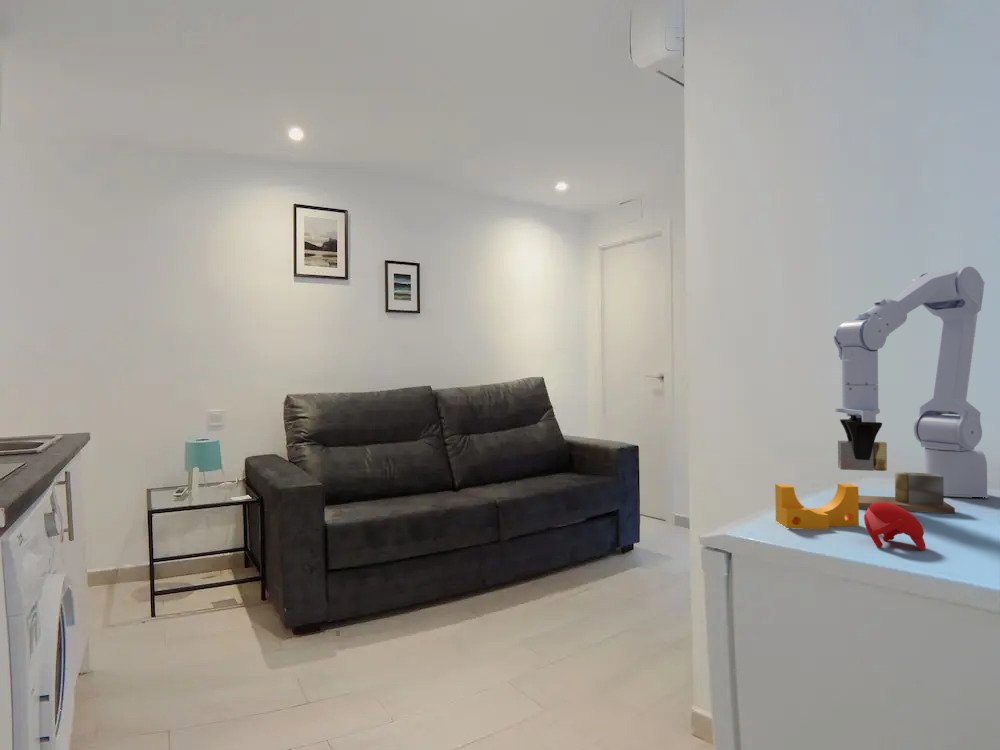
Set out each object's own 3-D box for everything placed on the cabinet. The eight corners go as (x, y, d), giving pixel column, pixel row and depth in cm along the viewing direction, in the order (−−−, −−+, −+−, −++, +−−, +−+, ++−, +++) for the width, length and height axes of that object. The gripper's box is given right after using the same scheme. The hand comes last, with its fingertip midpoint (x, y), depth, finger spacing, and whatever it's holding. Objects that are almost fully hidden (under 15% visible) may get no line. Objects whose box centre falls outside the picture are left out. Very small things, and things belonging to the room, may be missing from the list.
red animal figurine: (853, 523, 86) (894, 507, 82) (858, 502, 91) (897, 486, 87) (891, 569, 85) (934, 555, 81) (894, 545, 90) (936, 531, 86)
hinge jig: (940, 504, 110) (940, 472, 110) (954, 513, 103) (954, 478, 103) (835, 499, 116) (834, 468, 116) (842, 507, 109) (842, 474, 109)
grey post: (884, 468, 112) (884, 441, 112) (888, 471, 109) (888, 443, 109) (838, 466, 114) (837, 440, 114) (841, 469, 111) (840, 442, 111)
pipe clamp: (786, 530, 96) (786, 489, 96) (775, 523, 100) (775, 484, 100) (864, 529, 95) (864, 488, 95) (850, 522, 99) (849, 483, 99)
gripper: (828, 383, 120) (829, 452, 120) (842, 386, 106) (843, 463, 106) (869, 383, 117) (870, 453, 117) (889, 385, 104) (890, 464, 104)
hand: (860, 458), depth 112 cm, fingers closed on grey post, 3 cm apart
